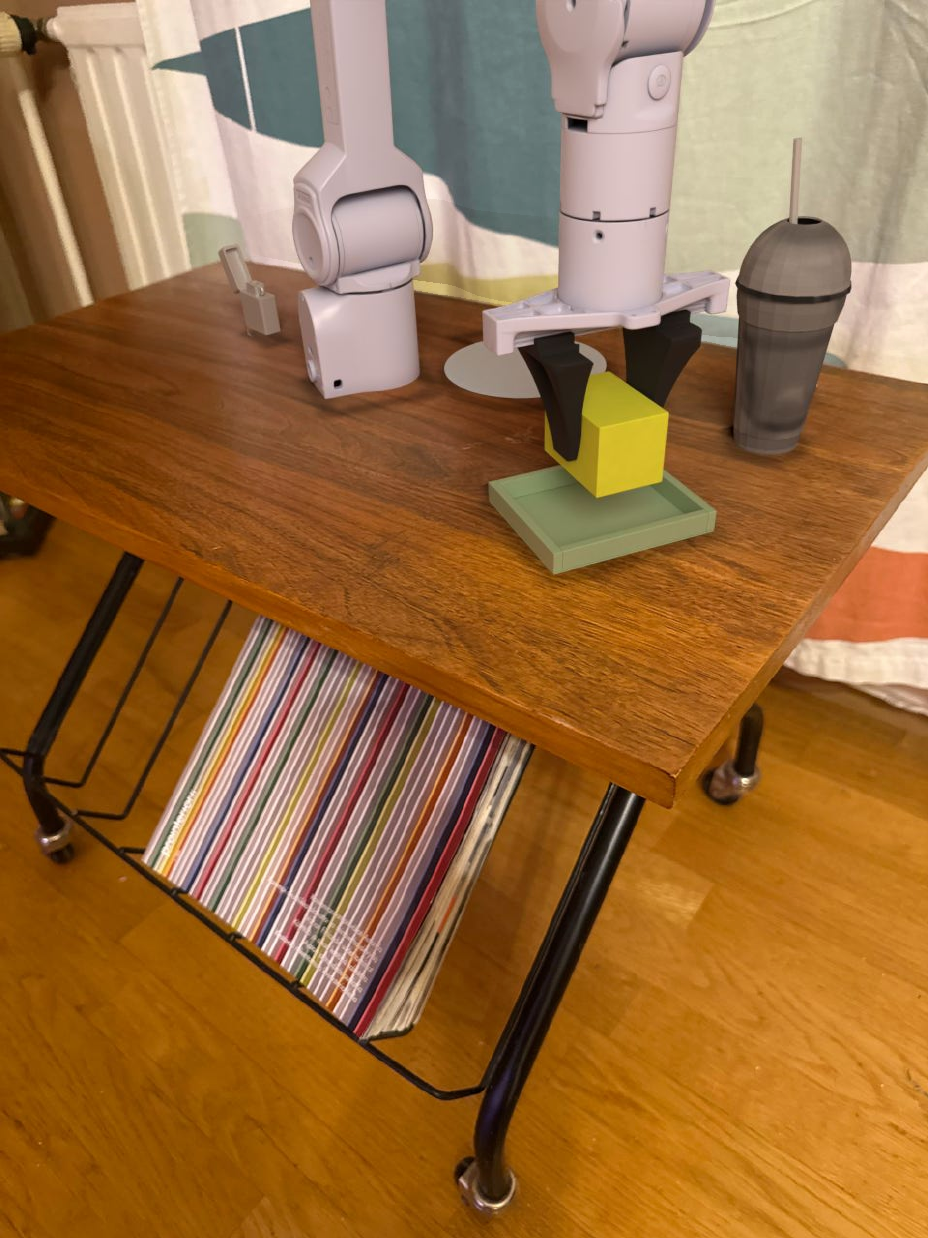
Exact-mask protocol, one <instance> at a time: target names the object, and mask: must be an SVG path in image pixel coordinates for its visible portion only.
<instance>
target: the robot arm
mask: <svg viewBox="0 0 928 1238" xmlns="http://www.w3.org/2000/svg"><path fill="white" fill-rule="evenodd" d="M716 1H717V0H535V16H536V23H537V30H538V34H539V38H540V43H541V45H542V47H543V50H544V52H545V54H546V57H547V60H548V64H549V69H550V78H551V79H550V99H552V100H554V101H553V102H554V109H555V111H556V112H557V113H561V117H560V163H559V164H560V167H559V169H560V171H559V211H558V212H559V214H558V265H557V266H558V267H557V269H558V271H557V274H558V275H557V287H554V288H552V289H549V290H546V291H543V292H540V293H537V294H535V295H531V296H529V297H526V298H524V299H520V300H519V301H514V302H512V303H509V304H506V305H502V306H497V307H493V308H488V309H484V310H482V341H483V344H484V345H485V346H486V347H487V348H488V349H489V350H490V351H491V352H493V353H494V354H496V355H497V356H502V355H507V354H512V353H513V352H514V348H518V350H519V352H520V354H521V356H522V357H523V359H524V361H525V363H526V365H527V367H528V369H529V371H530V373H531V375H532V377H533V380H534V382H535V384H536V386H537V389H538V391H539V394H540V397H539V398H540V399H541V403H542V405H543V408H544V409H543V410H544V413H545V412H546V416H547V419H548V423H549V428H550V432H551V437H552V443H553V449H554V450H555V451H556V452H557V453H558V454H559V455H560V456H561V457H563V458H564V459H565V460H566V461H568V462H570V461H574V460H577V458H578V454H579V448H580V441H581V425H582V409H583V403H584V397H585V392H586V387H587V383H588V380H589V376H590V373H591V370H592V367H593V364H594V363H593V362H592V361H591V360H589V359H588V358H587V357H585V356H584V355H582V354H581V353H579V347H580V345H579V344H575V341H576V340H575V339H576V337H579V336H585V335H590V334H595V333H601V332H605V331H610V330H611V331H612V330H615V329H621V332H622V338H623V347H624V348H623V349H624V359H625V374H626V375H625V383H627V384H628V385H630V386H631V387H633V388H634V389H636V390H637V391H638V392H640V393H641V394H643V395H644V396H646V397H647V398H649V399H650V400H651V401H653V402H654V403H656V404H657V405H659V406H660V407H662V408H663V409H664V407H665V404H666V402H667V400H668V397H669V395H670V393H671V391H672V390H673V387H674V385H675V383H676V382H677V380H678V378H679V377H680V375H681V373H682V371H683V370H684V368H686V365H687V364H688V363H689V361H690V360H691V359H692V358H693V356H694V354H696V352H697V351H698V350H699V349H700V347H701V343H702V336H703V329H702V327H700V326H699V325H696V324H695V323H693V322H691V315H693V314H699V313H704V312H705V313H706V314H709V315H717V314H722V313H726V312H727V310H728V300H729V293H730V285H731V278H730V277H728V276H725V275H723V274H721V273H719V272H717V271H714V270H712V269H708V270H700V271H693V272H680V273H665V268H666V257H667V247H668V246H667V245H668V235H669V224H670V223H669V221H670V211H671V200H672V190H673V177H674V168H675V155H676V146H677V145H676V143H677V132H678V123H679V111H680V110H679V109H680V99H681V90H682V89H681V88H682V77H683V65H684V58H685V57H686V56H688V55H689V54H690V53H692V52H693V51H694V50H695V49H696V48H697V46H699V44H700V43H701V41H702V40H703V38H704V36H705V35H706V32H707V30H708V29H709V26H710V24H711V21H712V18H713V15H714V11H715V7H716ZM309 5H310V17H311V24H312V25H311V26H312V33H313V44H314V54H315V64H316V74H317V82H318V83H317V84H318V92H319V103H320V113H321V123H322V130H323V139H324V142H323V144H322V145H321V147H320V148H319V149H318V150H317V151H316V152H315V153H314V155H312V157H311V158H310V159H309V160H308V161H307V162H306V163H305V164H304V165H303V166H302V167H301V168H300V169H299V170H298V171H297V173H296V174H295V175H294V177H293V178H292V182H293V183H292V184H293V188H292V189H293V215H292V221H291V231H292V240H293V244H294V249H295V253H296V255H297V259H298V261H299V263H300V265H301V267H302V269H303V271H304V272H305V273H306V274H307V276H308V277H309V278H310V279H312V281H313V282H315V284H317V285H315V286H313V287H310V288H309V287H308V288H305V289H302V290H300V291H298V293H297V300H296V301H297V314H298V320H299V327H300V333H301V334H300V335H301V339H302V346H303V347H302V348H303V353H304V359H305V366H306V372H307V376H308V378H309V380H310V382H311V383H313V384H314V386H315V387H316V389H317V390H318V391H319V393H321V396H322V397H323V399H324V400H328V399H334V398H339V397H344V396H349V395H354V394H359V393H368V392H370V393H371V392H382V391H388V390H389V391H390V390H394V389H398V388H402V387H404V386H407V385H410V384H411V383H413V382H414V381H415V380H418V377H419V376H420V374H421V367H420V352H419V340H418V328H417V327H418V326H417V315H416V313H417V312H416V301H415V287H414V278H416V277H418V276H421V275H422V273H421V264H422V263H424V262H425V261H426V260H427V258H428V256H429V254H430V251H431V248H432V244H433V240H434V221H433V216H432V212H431V208H430V206H429V204H428V199H427V195H426V189H425V181H424V171H423V170H422V169H423V168H421V166H419V164H418V163H416V162H415V160H413V159H412V158H411V157H409V156H408V154H405V153H404V152H403V151H402V150H400V149H399V148H398V147H397V146H395V139H394V124H393V108H392V107H393V106H392V105H393V104H392V90H391V75H390V74H391V73H390V56H389V41H388V40H389V39H388V24H387V9H386V7H387V5H386V0H309ZM336 381H340V385H338V386H335V382H336Z"/></svg>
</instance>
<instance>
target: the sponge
mask: <svg viewBox="0 0 928 1238" xmlns="http://www.w3.org/2000/svg"><path fill="white" fill-rule="evenodd" d="M669 417H670V413H669V411H667V410H666V409H664V407H663V408H662V407H660V406H659V405H657V404H656V403H654V402H653V401H651V400H650V399H649V398H647V397H646V396H644V395H643V394H641V393H640V392H638V391H637V390H636V389H634V388H633V387H631V386H630V385H628V384H627V383H626V381H624V380H622V378H620V377H618V376H617V375H615V374H614V373H613V372H611V371H609V370H608V371H605V372H603V373H598V374H593V375H590V376H589V380H588V383H587V387H586V392H585V397H584V403H583V409H582V425H581V441H580V448H579V454H578V458H577V460H574V461H570V462H568V461H566V460H565V459H564V458H563V457H561V456H560V455H559V454H558V453H557V452H556V451H555V450H554V449H553V443H552V437H551V432H550V428H549V423H548V419H547V416H546V412H545V411H544V451H545V452H546V453H547V454H548V455H549V456H550V457H551V458H552V459H554V460H555V461H556V462H557V463H558V465H561V466H562V467H563V468H564V469H566V470H567V471H568V472H569V473H570V474H571V475H572V476H573V477H574V478H575V479H576V480H577V481H579V482H580V483H581V484H582V485H583V486H584V487H585V488H586V489H587V490H588V491H589V492H590V493H592V494H593V495H594V496H595V497H596V498H599V497H603V496H607V495H611V494H615V493H619V492H623V491H627V490H631V489H635V488H639V487H643V486H647V485H651V484H655V483H659V482H662V479H663V469H664V467H665V457H666V446H667V437H668V428H669V419H670V418H669ZM664 470H665V469H664Z"/></svg>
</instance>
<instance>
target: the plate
mask: <svg viewBox="0 0 928 1238" xmlns="http://www.w3.org/2000/svg"><path fill="white" fill-rule="evenodd" d="M575 344H579V345H580V347H579V353H581V354H582V355H584V356H585V357H587V358H588V359H589V360H591V361H592V362H593V363H594V364H593V367H592V370H591V373H590V375H593V374H598V373H603V372H606V370H607V367H608V364H607V359H606V358H605V357H604V355H603V354H602V353H601V352H599V350H597V349H595V348H594V347H591V345H588V344H585V343H582V342H579V341H578V340H577V341H576V340H575ZM443 372H444V374H445V376H446V378H447V379H448V380H449V381H450V382H452V384H454V385H456V386H458V387H459V388H461V389H464V390H467V391H469V392H472V393H475V394H480V395H484V396H491V397H494V398H495V397H496V398H507V399H531V398H532V399H533V398H535V399H537V398H541V397H540V394H539V391H538V389H537V386H536V384H535V382H534V380H533V377H532V375H531V373H530V371H529V369H528V367H527V365H526V363H525V361H524V359H523V357H522V356H521V354H520V352H519V350H518V348H514V352H513V353H512V354H507V355H502V356H497V355H496V354H494V353H493V352H491V351H490V350H489V349H488V348H487V347H486V346H485V345H484V344H483V340H482V341H481V340H480V341H478V342H474V343H473V344H469V345H467V346H465V347H462V348H461V349H459V350H457V351H455V352H453V353H452V354H451V355H450V356H448V358H447V359H446V361H445V363H444V366H443Z"/></svg>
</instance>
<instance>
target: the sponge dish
mask: <svg viewBox="0 0 928 1238" xmlns="http://www.w3.org/2000/svg"><path fill="white" fill-rule="evenodd" d="M488 502H489V503H490V505H492V506H493V507H494V509H495V510H496V511H497V512H498V513H499V514H500V516H501V517H502V518H503V520H505V521H506V522H507V524H509V527H511V528H512V530H514V532H515V533H516V534H517V535H518V536H519V537H520V538H521V540H522V541H523V542H524V543H525V544H526V545H527V547H528V548H529V549H530V550H531V551H532V552H533V553H534V555H535V556H536V557H537V558H538V559H539V560H540V561H541V563H542V564H543V565H544V566H545V567H546V568H547V569H548V571H550V573H551V574H552V575H559V574H561V573H565V572H568V571H571V570H575V569H580V568H583V567H586V566H590V565H594V564H598V563H601V562H602V563H603V562H605V561H609V560H613V559H616V558H620V557H625V556H628V555H630V554H635V553H638V552H642V551H646V550H649V549H653V548H657V547H660V546H664V545H668V544H671V543H675V542H678V541H683V540H686V539H690V538H694V537H696V536H700V535H705V534H708V533H712V532H715V527H716V520H717V513H718V510H717V509H715V508H714V507H713V506H711V505H710V504H709V503H708V502H707V501H705V500H704V499H703V498H701V497H700V496H699V495H698V494H696V493H695V492H693V490H691V488H689V487H687V486H686V485H685V484H683V482H682V481H679V480H678V479H677V478H676V477H675V476H674V475H672V474H671V473H669V471H667V470H666V469H663V479H662V482H659V483H655V484H651V485H647V486H643V487H639V488H635V489H631V490H627V491H623V492H619V493H615V494H611V495H607V496H603V497H599V498H596V497H595V496H594V495H593V494H592V493H590V492H589V491H588V490H587V489H586V488H585V487H584V486H583V485H582V484H581V483H580V482H579V481H577V480H576V479H575V478H574V477H573V476H572V475H571V474H570V473H569V472H568V471H567V470H566V469H564V468H563V467H562V466H561V465H560V464H558V465H554V466H550V467H546V468H541V469H538V470H533V471H529V472H525V473H520V474H517V475H512V476H507V477H504V478H499V479H493V480H490V481H488Z"/></svg>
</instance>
